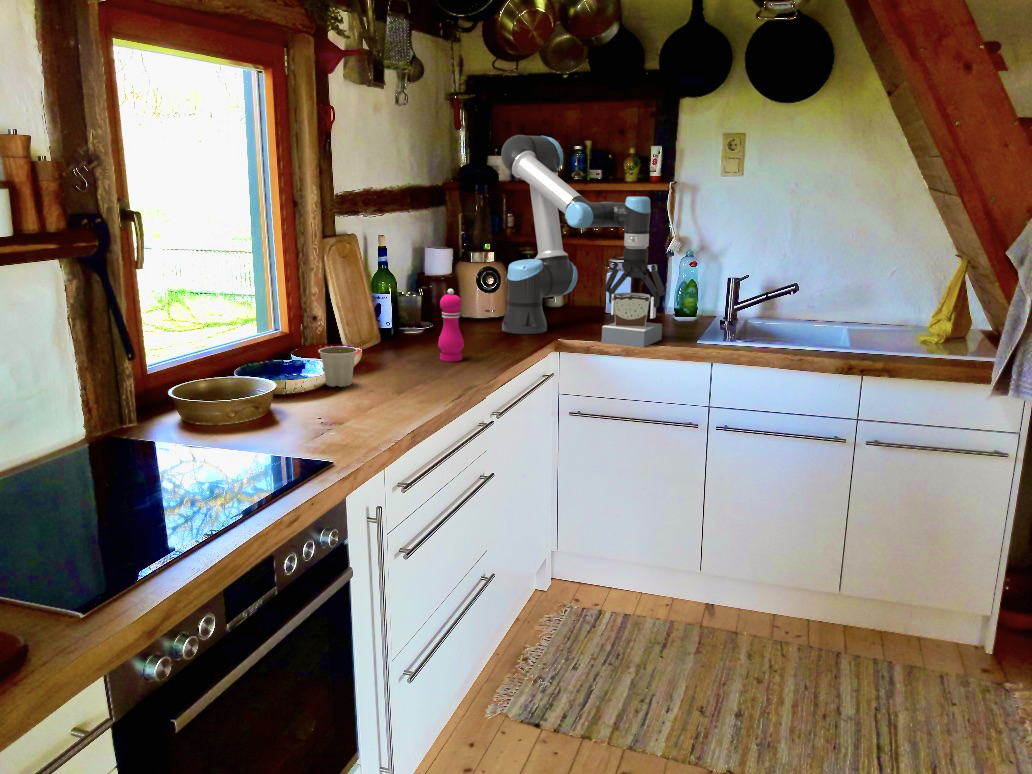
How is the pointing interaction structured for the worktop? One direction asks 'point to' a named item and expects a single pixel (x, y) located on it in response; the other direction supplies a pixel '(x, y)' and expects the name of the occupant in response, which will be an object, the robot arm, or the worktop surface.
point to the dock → (632, 334)
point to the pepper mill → (450, 328)
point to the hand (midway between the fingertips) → (633, 316)
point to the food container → (631, 309)
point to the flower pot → (338, 365)
